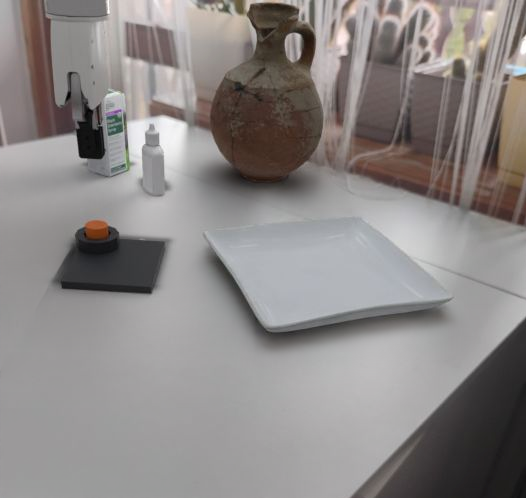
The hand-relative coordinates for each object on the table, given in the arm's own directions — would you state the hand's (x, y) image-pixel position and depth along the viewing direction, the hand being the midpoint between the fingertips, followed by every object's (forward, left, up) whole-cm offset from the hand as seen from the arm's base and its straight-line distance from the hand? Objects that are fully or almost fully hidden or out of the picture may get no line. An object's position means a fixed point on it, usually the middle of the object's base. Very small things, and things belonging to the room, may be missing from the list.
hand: (92, 156), depth 85 cm
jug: (+24, +39, -15) cm, 48 cm away
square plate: (+32, -5, -15) cm, 36 cm away
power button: (0, 0, -12) cm, 12 cm away
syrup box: (-6, +35, -15) cm, 38 cm away
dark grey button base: (+3, -4, -14) cm, 15 cm away
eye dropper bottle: (+4, +26, -15) cm, 30 cm away
